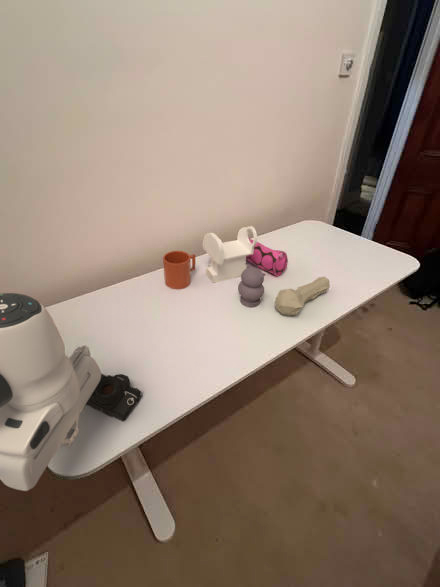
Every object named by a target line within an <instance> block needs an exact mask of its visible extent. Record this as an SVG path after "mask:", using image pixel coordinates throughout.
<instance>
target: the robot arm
mask: <svg viewBox="0 0 440 587" xmlns="http://www.w3.org/2000/svg"><path fill="white" fill-rule="evenodd" d="M65 353H66V348H65V343H64V339H63V338H62V335H61V332H60V331H59V328H58V327H57V324H56V323H55V321H54V319H53V317H52V315H51V314H50V312H49V311H48V310H47V308H46V307H45V306H44V304H42V303H41V302H39V301H38V300H37V299H36V298H34V297H32V296H29V295H26V294H22V293H16V292H14V293H13V292H4V293H3V292H2V293H0V481H1V482H2V483H3V484H4V485H5V486H7V487H8V488H11V489H14V490H16V491H17V490H18V491H23V492H28V491H30V490H31V489H33V488H35V487H36V485H37V483H38V482H39V481H40V478H41V477H42V475H43V474H44V472H45V470H46V469H47V467H48V466H49V464H50V462H51V461H52V459H53V458H54V456H55V454H56V453H57V451H58V449H59V448H60V446H61V447H63V448H64V447H65V448H71V446H72V444H73V442H74V441H75V439H76V437H77V436H78V434H79V432H80V429H79V427H78V426H79V420H80V414H81V412H82V411H83V409H84V407H85V406H86V403H87V401H88V400H89V398H90V396H91V395H92V393H93V391H94V390H95V388H96V387H97V385H98V383H99V382H100V379H101V374H102V371H101V369H100V366H99V365H98V362H97V361H96V360H95V358H94V357H92V356H91V351H90V348H89V347H88V346H87V345H81V346H77V347H76V348H75V349H74V351H73V352H72V354H71V355H70V356H69V357H68V356H67V355H66V354H65Z"/></svg>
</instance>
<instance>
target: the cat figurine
mask: <svg viewBox="0 0 440 587" xmlns="http://www.w3.org/2000/svg"><path fill="white" fill-rule="evenodd" d="M246 265H247V267H246V269H245V270H244V271H243V272H242V274H241V276H240V280H241V281H240V282H239V283H238V285H237V291H238V294H239V296H240V297H239V303H240V304H241V305H242V306H244V307H246V308H257V307H258V306H259V305H260V304H261V298H263V296H264V294H265V286H264V285H263V284H264V282H265V275H266V273H264V272H262V270H261V269H260V268H257V267H255V266H251V264H250V263H247V264H246Z"/></svg>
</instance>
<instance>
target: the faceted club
mask: <svg viewBox="0 0 440 587" xmlns="http://www.w3.org/2000/svg"><path fill="white" fill-rule="evenodd" d="M330 288H331V284H330V279H329V278H327V277H326V276H321V277H320V276H319V277H317V278H316V279H315V280H314V281H312V282H309V283H308V284H304V285H301V286H298V287H297V288H296V289H293V288H285V289H281V290H279V291H278V293H277V295H276V297H275V300H274V305H275V310H276V311H278V312H279V313H280V314H282V315H285V316H297V315H298V314H299V312H300V311H301V309H302V308H304V305H305V302H307V301H310V300H314V299H315V298H317V297H318V296H320V294H323V293H326V292H327V291H328V290H329V289H330Z"/></svg>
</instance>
